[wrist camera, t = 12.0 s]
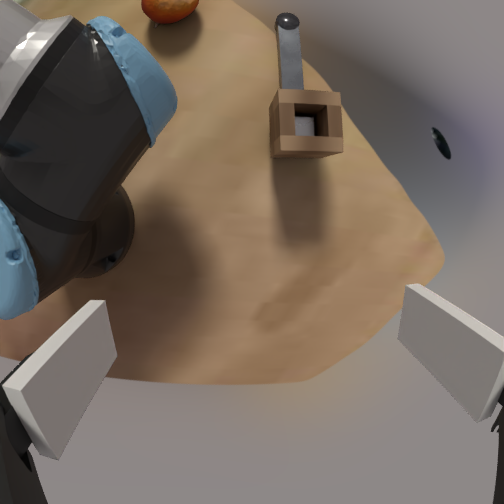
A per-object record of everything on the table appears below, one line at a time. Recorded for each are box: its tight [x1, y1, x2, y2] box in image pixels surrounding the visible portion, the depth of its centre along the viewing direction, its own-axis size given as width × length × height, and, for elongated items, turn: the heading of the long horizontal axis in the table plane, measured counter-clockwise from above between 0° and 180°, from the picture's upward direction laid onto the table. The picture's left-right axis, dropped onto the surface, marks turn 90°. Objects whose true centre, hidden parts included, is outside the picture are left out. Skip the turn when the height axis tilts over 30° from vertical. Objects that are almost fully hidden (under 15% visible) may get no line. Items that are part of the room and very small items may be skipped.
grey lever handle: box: [273, 13, 314, 158], centre depth 33 cm, size 5×22×7 cm, turn 2°
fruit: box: [141, 0, 199, 28], centre depth 30 cm, size 8×8×8 cm
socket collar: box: [269, 89, 343, 158], centre depth 32 cm, size 6×6×8 cm
